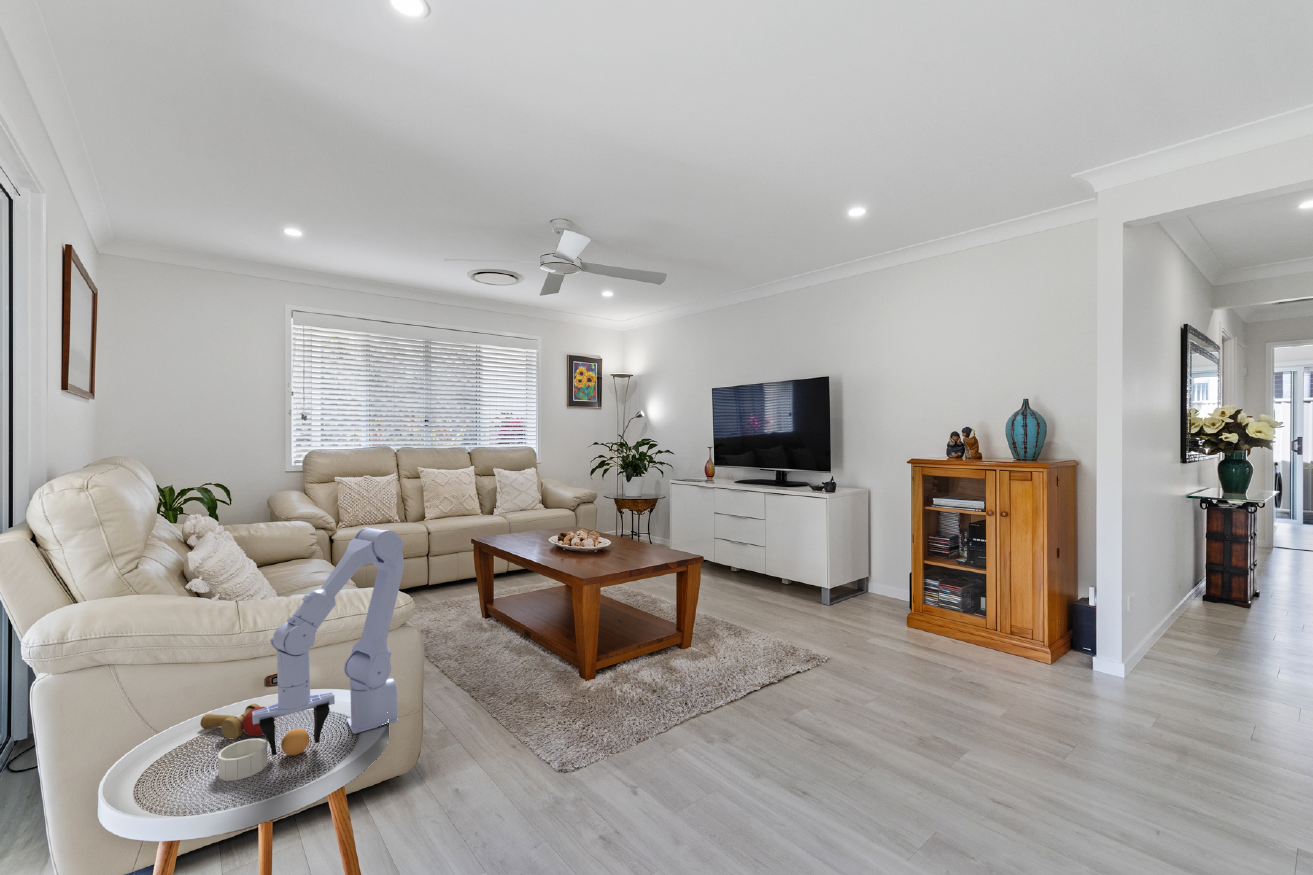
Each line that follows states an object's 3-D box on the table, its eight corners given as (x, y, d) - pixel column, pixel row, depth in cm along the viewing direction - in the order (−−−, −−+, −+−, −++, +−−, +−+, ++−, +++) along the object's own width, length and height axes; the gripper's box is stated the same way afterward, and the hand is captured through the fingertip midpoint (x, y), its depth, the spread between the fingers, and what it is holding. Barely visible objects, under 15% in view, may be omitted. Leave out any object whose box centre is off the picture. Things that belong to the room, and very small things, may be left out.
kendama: (187, 743, 134) (252, 741, 130) (188, 712, 135) (253, 709, 131) (221, 732, 142) (283, 730, 137) (221, 703, 143) (284, 700, 138)
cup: (265, 753, 127) (265, 734, 127) (269, 770, 120) (268, 750, 120) (218, 766, 122) (217, 747, 122) (219, 785, 115) (218, 764, 115)
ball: (307, 744, 130) (307, 721, 130) (311, 754, 126) (310, 730, 126) (280, 752, 127) (279, 728, 127) (283, 763, 123) (282, 738, 123)
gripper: (330, 667, 134) (331, 728, 134) (250, 684, 125) (252, 750, 125) (335, 677, 128) (337, 741, 128) (252, 696, 119) (254, 765, 120)
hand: (295, 746), depth 126 cm, fingers open, 7 cm apart
